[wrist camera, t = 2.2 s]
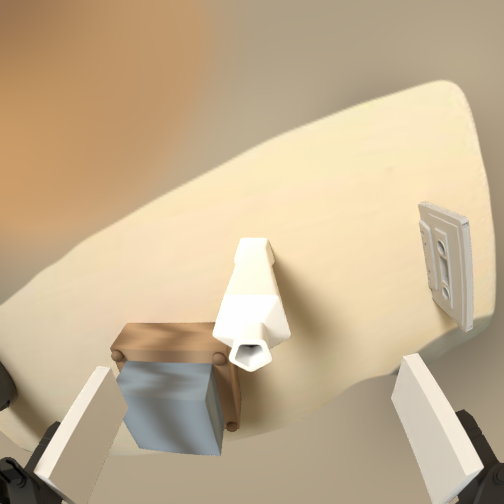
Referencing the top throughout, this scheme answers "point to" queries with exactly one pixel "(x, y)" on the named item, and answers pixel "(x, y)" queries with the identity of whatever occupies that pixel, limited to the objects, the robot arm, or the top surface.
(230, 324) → the perfume bottle
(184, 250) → the top surface
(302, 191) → the top surface
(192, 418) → the blue block on board
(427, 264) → the cassette
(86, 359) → the top surface
